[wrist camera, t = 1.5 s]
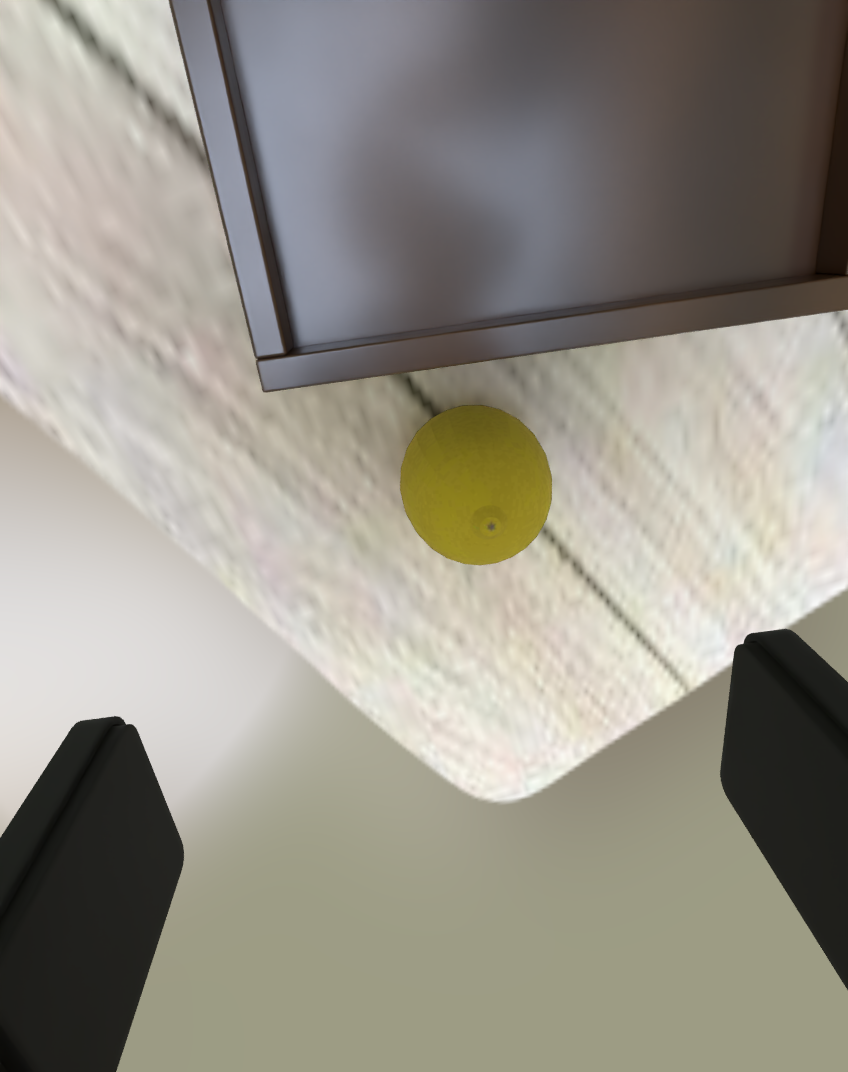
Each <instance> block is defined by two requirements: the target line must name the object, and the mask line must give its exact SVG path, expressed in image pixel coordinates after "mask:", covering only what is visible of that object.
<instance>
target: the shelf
mask: <svg viewBox="0 0 848 1072" xmlns="http://www.w3.org/2000/svg"><path fill="white" fill-rule="evenodd" d="M169 4H170V8H171V13H172V17H173V21H174V25H175V29H176V33H177V37H178V42H179V46H180V50H181V54H182V58H183V62H184V66H185V71H186V75H187V79H188V83H189V87H190V91H191V95H192V100H193V104H194V108H195V112H196V116H197V120H198V124H199V129H200V133H201V137H202V141H203V145H204V149H205V153H206V158H207V162H208V166H209V170H210V174H211V178H212V182H213V187H214V191H215V195H216V199H217V203H218V207H219V211H220V216H221V220H222V224H223V228H224V232H225V236H226V240H227V245H228V249H229V253H230V257H231V261H232V265H233V269H234V274H235V278H236V282H237V286H238V290H239V294H240V298H241V303H242V307H243V311H244V315H245V319H246V323H247V327H248V331H249V336H250V340H251V344H252V348H253V352H254V356H255V358H256V359H257V360H256V365H257V370H258V374H259V378H260V382H261V386H262V390H263V392H273V391H280V390H287V389H294V388H301V387H308V386H315V385H322V384H329V383H336V382H343V381H350V380H357V379H364V378H371V377H378V376H385V375H393V374H400V373H407V372H414V371H421V370H428V369H435V368H442V367H449V366H456V365H463V364H470V363H477V362H484V361H491V360H498V359H505V358H512V357H519V356H526V355H533V354H540V353H547V352H554V351H561V350H568V349H575V348H582V347H589V346H596V345H603V344H610V343H617V342H624V341H631V340H638V339H646V338H653V337H660V336H667V335H674V334H681V333H688V332H695V331H702V330H709V329H716V328H723V327H730V326H737V325H744V324H751V323H758V322H765V321H772V320H779V319H786V318H793V317H800V316H807V315H814V314H821V313H828V312H835V311H842V310H848V0H169Z"/></svg>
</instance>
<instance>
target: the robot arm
mask: <svg viewBox="0 0 848 1072" xmlns="http://www.w3.org/2000/svg"><path fill="white" fill-rule="evenodd" d="M720 777H721V782H722V786H723V789H724V792H725V794H726V796H727V798H728V799H729V801H730V803H731V804H732V806H733V807H734V809H735V811H736V812H737V814H738V815H739V817H740V818H741V820H742V822H743V823H744V825H745V827H746V828H747V829H748V831H749V833H750V835H751V836H752V838H753V839H754V841H755V843H756V844H757V846H758V847H759V849H760V850H761V852H762V854H763V855H764V857H765V858H766V860H767V862H768V863H769V865H770V866H771V868H772V870H773V871H774V873H775V875H776V876H777V878H778V879H779V881H780V883H781V884H782V886H783V887H784V889H785V891H786V892H787V894H788V895H789V897H790V899H791V900H792V902H793V903H794V905H795V906H796V908H797V910H798V911H799V913H800V914H801V916H802V918H803V919H804V921H805V923H806V924H807V926H808V927H809V929H810V930H811V932H812V933H813V935H814V937H815V939H816V940H817V942H818V943H819V945H820V947H821V948H822V950H823V951H824V953H825V954H826V956H827V958H828V959H829V961H830V962H831V964H832V966H833V967H834V969H835V970H836V972H837V974H838V975H839V977H840V979H841V980H842V982H843V983H844V985H845V987H846V988H847V989H848V682H847V681H846V680H845V679H844V678H843V677H842V676H841V675H840V674H838V673H837V672H836V671H835V670H834V669H833V668H832V667H831V666H830V665H829V664H828V663H827V662H826V661H825V660H824V659H823V658H821V657H820V656H819V655H818V654H817V653H816V652H815V651H814V650H813V649H811V647H810V646H808V645H807V644H806V643H805V642H804V641H803V640H802V639H801V638H800V637H799V636H798V635H797V634H796V633H794V632H793V631H791V630H788V629H781V630H773V631H766V632H758V633H751V634H749V635H747V636H746V638H745V640H744V644H740V645H737V647H736V648H735V651H734V658H733V667H732V675H731V684H730V692H729V701H728V710H727V718H726V727H725V735H724V745H723V753H722V761H721V770H720ZM183 861H184V850H183V844H182V841H181V838H180V836H179V833H178V831H177V828H176V826H175V823H174V821H173V818H172V816H171V813H170V811H169V808H168V806H167V803H166V801H165V798H164V796H163V793H162V791H161V788H160V786H159V783H158V781H157V778H156V776H155V773H154V771H153V769H152V766H151V763H150V761H149V758H148V756H147V754H146V751H145V749H144V746H143V744H142V741H141V739H140V736H139V734H138V731H137V729H136V728H135V727H134V726H133V725H132V724H127V725H126V724H125V722H124V720H123V719H122V718H120V717H116V716H114V717H107V718H99V719H92V720H84V721H80V722H78V723H76V724H75V725H74V726H73V727H72V728H71V730H70V731H69V733H68V735H67V736H66V738H65V739H64V741H63V742H62V744H61V745H60V747H59V748H58V750H57V751H56V753H55V755H54V756H53V758H52V759H51V761H50V762H49V764H48V765H47V767H46V768H45V770H44V771H43V773H42V775H41V776H40V778H39V779H38V781H37V782H36V784H35V785H34V787H33V788H32V790H31V791H30V793H29V794H28V796H27V798H26V799H25V801H24V802H23V804H22V805H21V807H20V808H19V810H18V811H17V813H16V814H15V816H14V818H13V819H12V821H11V822H10V824H9V825H8V827H7V829H6V830H5V832H4V833H3V834H2V836H1V838H0V1072H116V1070H117V1067H118V1064H119V1061H120V1058H121V1055H122V1052H123V1049H124V1046H125V1043H126V1040H127V1037H128V1034H129V1030H130V1027H131V1024H132V1021H133V1018H134V1015H135V1012H136V1009H137V1006H138V1003H139V1000H140V997H141V994H142V991H143V987H144V984H145V981H146V978H147V975H148V972H149V969H150V966H151V963H152V960H153V957H154V954H155V951H156V948H157V944H158V941H159V938H160V935H161V932H162V929H163V926H164V923H165V920H166V917H167V914H168V911H169V908H170V904H171V901H172V898H173V895H174V892H175V889H176V886H177V883H178V880H179V877H180V874H181V870H182V867H183Z"/></svg>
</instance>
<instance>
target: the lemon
mask: <svg viewBox="0 0 848 1072" xmlns="http://www.w3.org/2000/svg"><path fill="white" fill-rule="evenodd" d="M400 491H401V496H402V500H403V504H404V508H405V512H406V514H407V516H408V518H409V520H410V521H411V523H412V525H413V527H414V529H415V530H416V532H417V533H418V534H419V536H420V537H421V538H422V539H423V540H424V541H425V542H426V543H427V544H428V545H429V546H430V547H431V548H432V549H433V550H435V551H436V552H438V553H440V554H441V555H443V556H445V557H446V558H448V559H451V560H454V561H457V562H460V563H463V564H471V565H486V564H493V563H498V562H500V561H503V560H506V559H508V558H511V557H513V556H514V555H516V554H517V553H519V552H521V551H522V550H524V549H525V548H526V547H527V546H528V545H529V544H530V543H531V542H532V541H533V540H534V539H535V538H536V537H537V535H538V534H539V532H540V530H541V528H542V527H543V525H544V523H545V521H546V519H547V516H548V512H549V509H550V505H551V500H552V476H551V472H550V468H549V464H548V460H547V457H546V454H545V452H544V450H543V449H542V447H541V445H540V444H539V442H538V440H537V438H536V437H535V435H534V434H533V433H532V432H531V431H530V430H529V429H528V428H527V427H526V426H525V425H524V424H523V423H522V422H521V421H520V420H518V419H517V418H515V417H513V416H511V415H510V414H508V413H506V412H504V411H502V410H500V409H496V408H492V407H487V406H483V405H463V406H460V407H456V408H453V409H449V410H446V411H444V412H442V413H441V414H439V415H437V416H435V417H433V418H432V419H430V420H429V421H428V422H427V423H426V424H425V425H424V426H423V427H422V428H421V429H420V430H419V431H417V433H416V435H415V436H414V438H413V439H412V441H411V443H410V444H409V446H408V448H407V450H406V453H405V457H404V460H403V463H402V466H401V480H400Z"/></svg>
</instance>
